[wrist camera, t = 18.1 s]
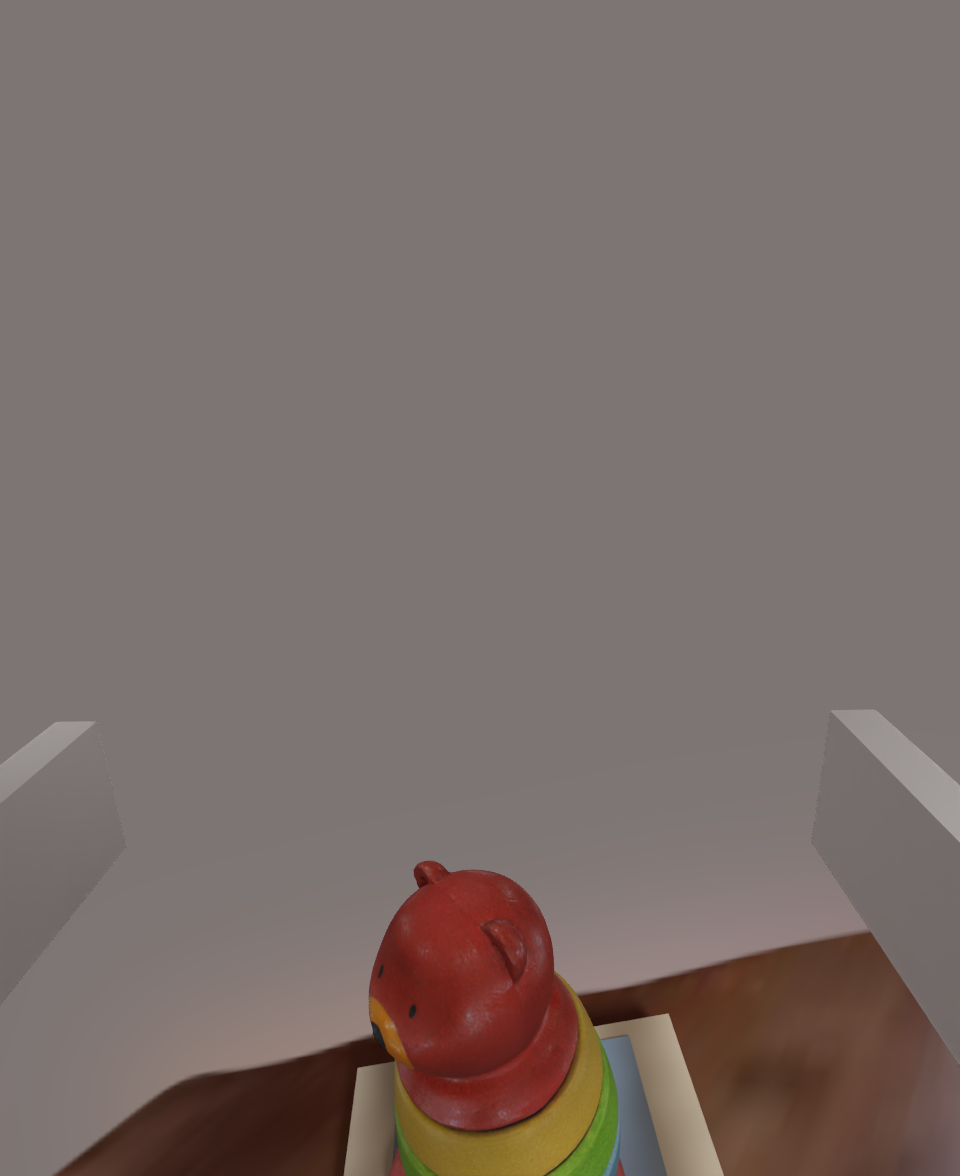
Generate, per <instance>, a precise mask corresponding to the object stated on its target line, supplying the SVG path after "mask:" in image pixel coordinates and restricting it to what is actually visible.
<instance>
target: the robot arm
mask: <svg viewBox="0 0 960 1176" xmlns="http://www.w3.org/2000/svg"><path fill="white" fill-rule="evenodd" d="M812 844H813V845H814V847H815V848H816V850H817V851H818V853H819V854H820V856H821V857H822V859H823V860H824V862H825V863H826V865H827V866H828V868H829V869H830V871H831V872H832V874H833V875H834V877H835V878H836V880H837V881H838V883H839V884H840V886H841V887H842V889H843V890H844V892H845V893H846V895H847V896H848V898H849V899H850V901H851V902H852V904H853V905H854V907H855V908H856V910H857V911H858V913H859V915H860V916H861V918H862V919H863V920H864V922H865V924H866V925H867V927H868V928H869V930H870V931H871V933H872V934H873V936H874V937H875V939H876V940H877V942H878V943H879V945H880V946H881V948H882V949H883V951H884V952H885V954H886V955H887V957H888V958H889V960H890V961H891V963H892V964H893V966H894V967H895V969H896V970H897V972H898V973H899V975H900V976H901V978H902V979H903V981H904V982H905V984H906V986H907V987H908V989H909V990H910V992H911V993H912V995H913V996H914V998H915V999H916V1001H917V1002H918V1004H919V1005H920V1007H921V1008H922V1010H923V1011H924V1013H925V1014H926V1016H927V1017H928V1019H929V1020H930V1022H931V1023H932V1025H933V1026H934V1028H935V1029H936V1031H937V1032H938V1034H939V1035H940V1037H941V1038H942V1040H943V1041H944V1043H945V1044H946V1046H947V1047H948V1049H949V1050H950V1052H951V1053H952V1055H953V1056H954V1058H955V1059H956V1061H957V1062H958V1064H959V1066H960V785H959V784H957V782H955V781H954V780H953V779H952V778H951V777H950V776H949V775H948V774H946V773H945V772H944V771H943V770H942V769H941V768H940V767H939V766H938V765H936V764H935V763H934V762H933V761H932V760H931V759H929V758H928V756H926V755H925V754H924V753H923V752H922V751H921V750H920V749H919V748H917V747H916V746H915V745H914V744H913V743H912V742H911V741H910V740H909V739H907V738H906V737H905V736H904V735H903V734H902V733H901V732H899V731H898V730H897V729H896V728H895V727H894V726H893V725H892V724H891V723H890V722H888V721H887V720H886V719H885V718H884V717H883V716H882V715H881V714H880V713H878V712H877V711H876V710H831V711H830V716H829V723H828V730H827V737H826V744H825V751H824V759H823V765H822V772H821V780H820V786H819V794H818V801H817V808H816V815H815V822H814V829H813V836H812ZM125 848H126V843H125V839H124V835H123V830H122V826H121V822H120V818H119V813H118V809H117V805H116V801H115V797H114V792H113V788H112V785H111V780H110V776H109V771H108V767H107V764H106V759H105V755H104V751H103V746H102V742H101V738H100V734H99V729H98V725H97V722H96V721H95V722H94V721H89V722H55V723H54V724H53V725H51V726H50V727H49V728H48V729H46V730H45V731H44V732H42V733H41V734H40V735H38V736H37V737H36V738H35V739H33V740H32V741H31V742H30V743H28V744H27V745H26V746H24V747H23V748H22V749H20V750H19V751H18V752H17V753H15V754H14V755H13V756H12V757H10V758H9V759H8V760H6V761H5V762H4V763H3V764H1V765H0V1005H1V1004H2V1003H3V1001H4V1000H5V999H6V998H7V996H8V995H9V994H10V992H11V991H12V990H13V989H14V988H15V986H16V985H17V984H18V982H19V981H20V980H21V979H22V978H23V976H24V975H25V974H26V972H27V971H28V970H29V969H30V968H31V966H32V965H33V964H34V962H35V961H36V960H37V959H38V957H39V956H40V955H41V954H42V952H43V951H44V950H45V949H46V947H47V946H48V945H49V943H50V942H51V941H52V940H53V939H54V937H55V936H56V935H57V934H58V932H59V931H60V930H61V929H62V927H63V926H64V925H65V923H66V922H67V921H68V920H69V918H70V917H71V916H72V915H73V914H74V912H75V911H76V910H77V908H78V907H79V906H80V905H81V903H82V902H83V901H84V900H85V898H86V897H87V896H88V895H89V893H90V892H91V891H92V890H93V888H94V887H95V886H96V885H97V883H98V882H99V881H100V879H101V878H102V877H103V876H104V875H105V873H106V872H107V871H108V869H109V868H110V867H111V866H112V865H113V863H114V862H115V861H116V859H117V858H118V857H119V856H120V855H121V853H122V852H123V851H124V849H125Z"/></svg>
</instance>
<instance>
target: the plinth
mask: <svg viewBox="0 0 960 1176" xmlns="http://www.w3.org/2000/svg"><path fill="white" fill-rule="evenodd" d="M594 1028H595V1030H596V1032H597V1034H598V1036H599V1038H600V1040H601V1042H602V1045H603V1047H604V1049H605V1052H606V1055H607V1057H608V1060H609V1063H610V1066H611V1069H612V1073H613V1076H614V1080H615V1084H616V1089H617V1095H618V1102H619V1109H620V1154H619V1158H620V1160H621V1163H622V1166H623V1170H624V1173H625V1176H724V1175H723V1172H722V1169H721V1166H720V1163H719V1160H718V1157H717V1154H716V1151H715V1149H714V1146H713V1143H712V1140H711V1137H710V1134H709V1131H708V1128H707V1125H706V1122H705V1119H704V1116H703V1113H702V1111H701V1108H700V1105H699V1102H698V1099H697V1096H696V1093H695V1090H694V1087H693V1084H692V1081H691V1078H690V1075H689V1072H688V1070H687V1067H686V1064H685V1061H684V1058H683V1055H682V1052H681V1049H680V1046H679V1043H678V1040H677V1037H676V1034H675V1031H674V1029H673V1026H672V1023H671V1020H670V1017H669V1014H663V1015H657V1016H652V1017H646V1018H640V1019H635V1020H629V1021H623V1022H617V1023H612V1024H606V1025H600V1026H595V1027H594ZM394 1065H395V1061H394V1062H389V1063H383V1064H377V1065H371V1066H366V1067H360V1068H358V1070H357V1077H356V1085H355V1093H354V1100H353V1108H352V1116H351V1124H350V1131H349V1139H348V1147H347V1154H346V1162H345V1170H344V1176H389V1173H390V1170H391V1168H392V1165H393V1163H394V1159H395V1153H396V1150H397V1149H398V1140H397V1133H396V1124H395V1111H394V1100H395V1089H394Z"/></svg>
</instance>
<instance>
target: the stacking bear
mask: <svg viewBox="0 0 960 1176" xmlns="http://www.w3.org/2000/svg"><path fill="white" fill-rule="evenodd" d="M414 877H415V879H416V881H417V885H418V887H419V889H418V890H417V891H416V892H415V893H414V894H413V895H411V896H410V897H409V898H408V899H407V900H406V901H405V903H404V904H403V905H402V906H401V907H400V909H399V910H398V911H397V913H396V914H395V916H394V918H393V919H392V921H391V923H390V925H389V927H388V929H387V931H386V933H385V936H384V938H383V941H382V943H381V946H380V949H379V951H378V954H377V957H376V960H375V964H374V967H373V971H372V976H371V980H370V987H369V1015H370V1021H371V1024H372V1028H373V1035H374V1036H375V1039H376V1040H377V1041H378V1042H379V1044H380V1045H381V1046H382V1047H383V1048H384V1049H386V1050H387V1052H388V1053H389V1054H390V1055H391V1056H392V1057H394V1058H395V1065H394V1089H395V1100H394V1111H395V1124H396V1133H397V1140H398V1149H397V1150H396V1153H395V1159H394V1163H393V1165H392V1168H391V1170H390V1173H389V1176H625V1173H624V1170H623V1166H622V1163H621V1160H620V1158H619V1154H620V1109H619V1102H618V1095H617V1089H616V1084H615V1080H614V1076H613V1073H612V1069H611V1066H610V1063H609V1060H608V1057H607V1055H606V1052H605V1049H604V1047H603V1045H602V1042H601V1040H600V1038H599V1036H598V1034H597V1032H596V1030H595V1028H594V1027H593V1025H592V1022H591V1020H590V1018H589V1016H588V1014H587V1012H586V1010H585V1008H584V1006H583V1005H582V1003H581V1001H580V999H579V998H578V996H577V995H576V993H575V992H574V990H573V989H572V988H571V987H570V985H569V984H568V983H567V982H566V981H565V980H564V979H563V978H562V977H561V976H560V975H559V974H558V973H556V972H555V971H554V957H553V948H552V942H551V938H550V934H549V931H548V928H547V925H546V922H545V919H544V917H543V915H542V913H541V911H540V909H539V907H538V906H537V904H536V903H535V901H534V900H533V899H532V898H531V897H530V895H529V894H528V893H527V892H526V891H525V890H524V889H523V888H522V887H521V886H520V885H518V884H517V883H516V882H514V881H513V880H511V879H509V878H507V877H505V876H503V875H500V874H497V873H494V872H490V871H484V870H462V871H457V872H452V873H450V872H448V871H447V870H446V869H445V868H444V867H443V866H442V865H441V864H439V863H437V862H435V861H424V862H420V863H419V864H417V866H416V867H415V869H414Z"/></svg>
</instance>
